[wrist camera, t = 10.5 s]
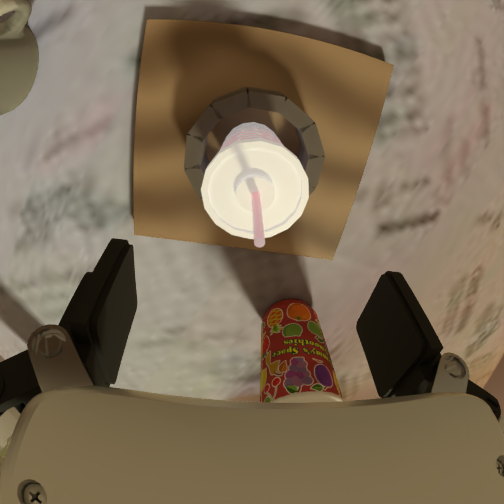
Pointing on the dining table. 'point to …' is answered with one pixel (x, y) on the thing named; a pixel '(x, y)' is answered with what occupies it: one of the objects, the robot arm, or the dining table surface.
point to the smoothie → (295, 357)
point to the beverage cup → (254, 184)
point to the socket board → (245, 111)
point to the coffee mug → (16, 55)
